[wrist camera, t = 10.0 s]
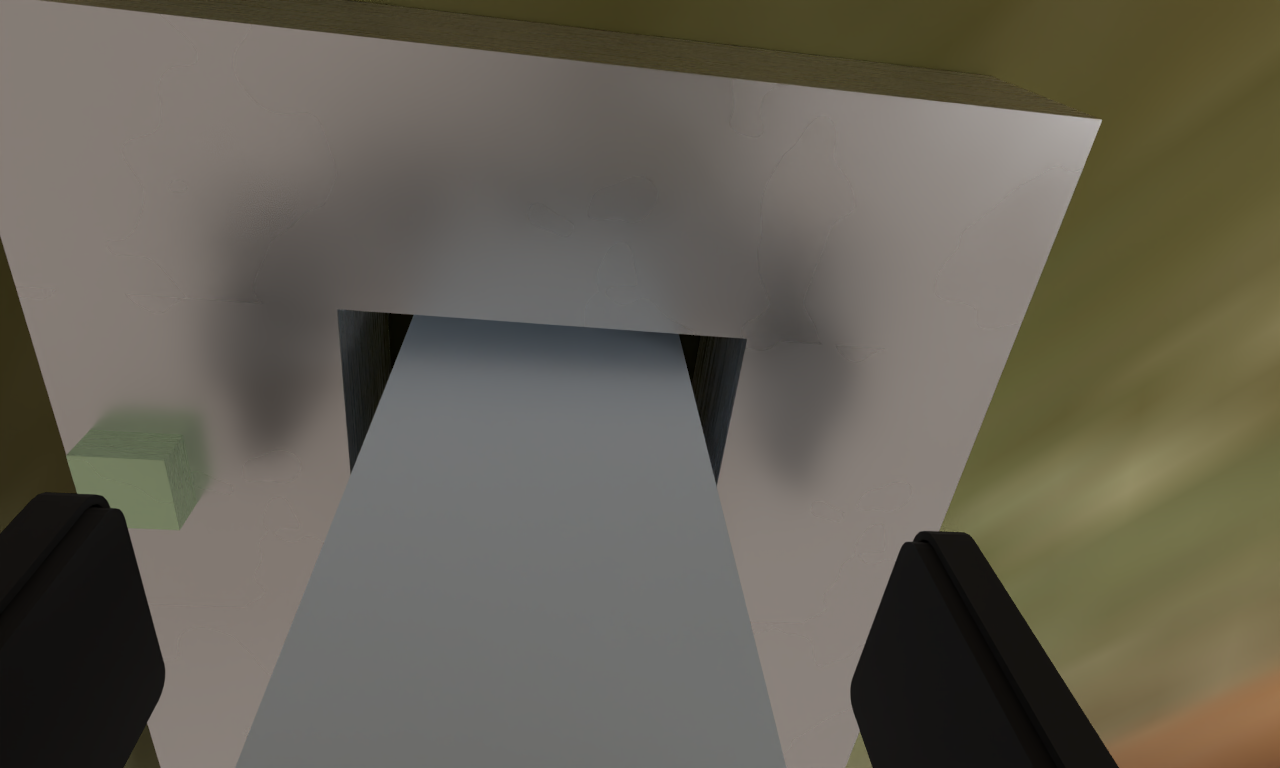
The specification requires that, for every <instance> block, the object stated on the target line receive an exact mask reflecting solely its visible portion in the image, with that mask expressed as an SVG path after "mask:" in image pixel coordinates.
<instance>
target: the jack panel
mask: <svg viewBox="0 0 1280 768" xmlns="http://www.w3.org/2000/svg"><path fill="white" fill-rule="evenodd" d="M1101 122H1102V120H1101V119H1099V118H1096V117H1094V116H1091V115H1089V114H1086V113H1084V112H1081V111H1079V110H1076V109H1074V108H1071V107H1069V106H1066V105H1063V104H1061V103H1058V102H1056V101H1053V100H1051V99H1048V98H1046V97H1043V96H1041V95H1038V94H1036V93H1033V92H1031V91H1028V90H1025V89H1023V88H1020V87H1018V86H1015V85H1013V84H1010V83H1008V82H1005V81H1003V80H1000V79H998V78H995V77H993V76H987V75H979V74H970V73H962V72H953V71H945V70H936V69H928V68H919V67H911V66H902V65H894V64H885V63H877V62H868V61H860V60H851V59H843V58H834V57H826V56H817V55H809V54H800V53H792V52H783V51H775V50H766V49H758V48H749V47H741V46H732V45H723V44H715V43H706V42H698V41H689V40H681V39H672V38H664V37H655V36H647V35H638V34H630V33H621V32H613V31H604V30H596V29H587V28H579V27H570V26H562V25H553V24H545V23H536V22H528V21H519V20H511V19H502V18H494V17H485V16H477V15H468V14H459V13H451V12H442V11H434V10H425V9H417V8H408V7H400V6H391V5H383V4H374V3H366V2H357V1H349V0H0V237H1V240H2V243H3V246H4V250H5V253H6V256H7V260H8V263H9V266H10V270H11V273H12V276H13V280H14V283H15V286H16V290H17V293H18V296H19V300H20V303H21V306H22V309H23V313H24V316H25V319H26V323H27V326H28V329H29V333H30V336H31V339H32V343H33V346H34V349H35V353H36V356H37V359H38V363H39V366H40V369H41V373H42V376H43V379H44V382H45V386H46V389H47V392H48V396H49V399H50V402H51V406H52V409H53V412H54V416H55V419H56V422H57V426H58V429H59V432H60V436H61V439H62V442H63V445H64V449H65V452H66V458H67V461H68V465H69V468H70V471H71V475H72V478H73V481H74V484H75V488H76V491H77V494H96V495H101V496H103V497H104V498H105V499H106V500H107V501H108V503H109V505H110V508H116V509H120V510H121V511H122V512H123V514H124V517H125V520H126V523H127V527H128V531H129V534H130V538H131V542H132V546H133V549H134V553H135V557H136V560H137V564H138V568H139V572H140V575H141V579H142V583H143V586H144V590H145V594H146V598H147V601H148V605H149V609H150V612H151V616H152V620H153V624H154V627H155V631H156V635H157V638H158V642H159V646H160V650H161V653H162V657H163V661H164V664H165V682H164V687H163V691H162V694H161V696H160V699H159V701H158V703H157V705H156V707H155V709H154V710H153V712H152V714H151V716H150V718H149V720H148V722H147V724H148V727H149V731H150V734H151V737H152V741H153V744H154V747H155V751H156V754H157V757H158V760H159V764H160V767H161V768H235V767H236V764H237V762H238V759H239V757H240V754H241V751H242V749H243V746H244V744H245V741H246V739H247V736H248V734H249V731H250V729H251V726H252V724H253V721H254V719H255V716H256V713H257V711H258V708H259V706H260V703H261V701H262V698H263V696H264V693H265V691H266V688H267V686H268V683H269V681H270V678H271V675H272V673H273V670H274V668H275V665H276V663H277V660H278V658H279V655H280V653H281V650H282V648H283V645H284V642H285V640H286V637H287V635H288V632H289V630H290V627H291V625H292V622H293V620H294V617H295V615H296V612H297V610H298V607H299V604H300V602H301V599H302V597H303V594H304V592H305V589H306V587H307V584H308V582H309V579H310V577H311V574H312V572H313V569H314V566H315V564H316V561H317V559H318V556H319V554H320V551H321V549H322V546H323V544H324V541H325V539H326V536H327V534H328V531H329V528H330V526H331V523H332V521H333V518H334V516H335V513H336V511H337V508H338V506H339V503H340V501H341V498H342V496H343V493H344V490H345V488H346V485H347V483H348V480H349V478H350V475H351V473H352V470H353V468H354V465H355V463H356V460H357V458H358V455H359V452H360V450H361V447H362V445H363V442H364V440H365V437H366V435H367V432H368V430H369V427H370V425H371V422H372V420H373V417H374V414H375V412H376V409H377V407H378V404H379V402H380V399H381V397H382V394H383V392H384V389H385V387H386V384H387V381H388V379H389V376H390V374H391V353H390V332H389V313H397V314H411V315H425V316H439V317H453V318H466V319H480V320H494V321H508V322H522V323H536V324H549V325H563V326H577V327H591V328H605V329H618V330H632V331H646V332H660V333H674V334H688V335H700V341H699V347H698V353H697V358H696V364H695V370H694V376H693V381H692V390H693V394H694V398H695V402H696V406H697V410H698V414H699V418H700V422H701V426H702V430H703V434H704V438H705V442H706V446H707V450H708V454H709V458H710V462H711V466H712V470H713V474H714V478H715V482H716V486H717V490H718V494H719V498H720V502H721V506H722V510H723V514H724V518H725V522H726V526H727V530H728V534H729V538H730V542H731V546H732V550H733V554H734V559H735V563H736V567H737V571H738V575H739V579H740V583H741V587H742V591H743V595H744V599H745V603H746V607H747V611H748V615H749V619H750V623H751V627H752V631H753V635H754V639H755V643H756V647H757V651H758V655H759V659H760V663H761V667H762V671H763V675H764V679H765V683H766V687H767V691H768V695H769V699H770V703H771V707H772V711H773V715H774V719H775V723H776V727H777V732H778V736H779V740H780V744H781V748H782V752H783V756H784V760H785V764H786V768H845V767H846V764H847V762H848V759H849V757H850V754H851V752H852V749H853V746H854V744H855V741H856V739H857V736H858V734H859V731H860V730H859V727H858V724H857V721H856V718H855V715H854V712H853V709H852V705H851V698H850V688H851V681H852V678H853V675H854V672H855V670H856V667H857V664H858V662H859V659H860V656H861V653H862V651H863V648H864V645H865V643H866V640H867V637H868V635H869V632H870V629H871V626H872V624H873V621H874V618H875V616H876V613H877V610H878V608H879V605H880V602H881V599H882V597H883V594H884V591H885V589H886V586H887V583H888V581H889V578H890V575H891V572H892V570H893V567H894V564H895V562H896V559H897V556H898V554H899V551H900V549H901V547H902V545H903V544H904V543H905V542H913V540H914V538H915V536H916V535H917V534H918V533H919V532H920V531H939V530H940V527H941V525H942V522H943V520H944V517H945V515H946V512H947V510H948V507H949V505H950V502H951V500H952V497H953V495H954V492H955V490H956V487H957V484H958V482H959V479H960V477H961V474H962V472H963V469H964V467H965V464H966V462H967V459H968V457H969V454H970V452H971V449H972V447H973V444H974V442H975V439H976V437H977V434H978V432H979V429H980V427H981V424H982V421H983V419H984V416H985V414H986V411H987V409H988V406H989V404H990V401H991V399H992V396H993V394H994V391H995V389H996V386H997V384H998V381H999V379H1000V376H1001V374H1002V371H1003V369H1004V366H1005V364H1006V361H1007V359H1008V356H1009V353H1010V351H1011V348H1012V346H1013V343H1014V341H1015V338H1016V336H1017V333H1018V331H1019V328H1020V326H1021V323H1022V321H1023V318H1024V316H1025V313H1026V311H1027V308H1028V306H1029V303H1030V301H1031V298H1032V296H1033V293H1034V290H1035V288H1036V285H1037V283H1038V280H1039V278H1040V275H1041V273H1042V270H1043V268H1044V265H1045V263H1046V260H1047V258H1048V255H1049V253H1050V250H1051V248H1052V245H1053V243H1054V240H1055V238H1056V235H1057V233H1058V230H1059V228H1060V225H1061V222H1062V220H1063V217H1064V215H1065V212H1066V210H1067V207H1068V205H1069V202H1070V200H1071V197H1072V195H1073V192H1074V190H1075V187H1076V185H1077V182H1078V180H1079V177H1080V175H1081V172H1082V170H1083V167H1084V165H1085V162H1086V160H1087V157H1088V154H1089V152H1090V149H1091V147H1092V144H1093V142H1094V139H1095V137H1096V134H1097V132H1098V129H1099V127H1100V124H1101Z"/></svg>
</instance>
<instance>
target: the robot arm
mask: <svg viewBox="0 0 1280 768" xmlns="http://www.w3.org/2000/svg"><path fill="white" fill-rule="evenodd" d="M164 682H165V664H164V661H163V657H162V653H161V650H160V646H159V642H158V638H157V635H156V631H155V627H154V624H153V620H152V616H151V612H150V609H149V605H148V601H147V598H146V594H145V590H144V586H143V583H142V579H141V575H140V572H139V568H138V564H137V560H136V557H135V553H134V549H133V546H132V542H131V538H130V534H129V531H128V527H127V523H126V520H125V517H124V514H123V512H122V511H121V510H120V509H116V508H110V505H109V503H108V501H107V500H106V499H105V498H104V497H103V496H101V495H96V494H73V493H51V492H45V493H42V494H39V495H37V496H36V497H35V498H33V499H32V500H31V501H30V502H29V503H28V504H27V505H26V506H25V507H24V508H23V510H22V511H21V512H20V513H19V514H18V515H17V516H16V517H15V518H14V519H13V520H12V521H11V523H10V524H9V525H8V526H7V527H6V528H5V529H4V530H3V531H2V532H1V533H0V768H123V767H124V766H125V764H126V762H127V760H128V758H129V756H130V754H131V752H132V750H133V748H134V747H135V745H136V743H137V741H138V739H139V737H140V735H141V733H142V731H143V729H144V728H145V726H146V724H147V722H148V720H149V718H150V716H151V714H152V712H153V710H154V709H155V707H156V705H157V703H158V701H159V699H160V696H161V694H162V691H163V687H164ZM850 698H851V705H852V709H853V712H854V715H855V718H856V721H857V724H858V727H859V730H860V732H861V735H862V738H863V741H864V744H865V747H866V750H867V752H868V755H869V758H870V761H871V764H872V767H873V768H1119V767H1118V766H1117V764H1116V762H1115V761H1114V759H1113V758H1112V756H1111V755H1110V753H1109V751H1108V750H1107V748H1106V747H1105V745H1104V744H1103V742H1102V740H1101V739H1100V737H1099V736H1098V734H1097V733H1096V731H1095V729H1094V728H1093V726H1092V725H1091V723H1090V722H1089V720H1088V718H1087V717H1086V715H1085V714H1084V712H1083V711H1082V709H1081V707H1080V706H1079V704H1078V703H1077V701H1076V700H1075V698H1074V696H1073V695H1072V693H1071V692H1070V690H1069V689H1068V687H1067V685H1066V684H1065V682H1064V681H1063V679H1062V678H1061V676H1060V674H1059V673H1058V671H1057V670H1056V668H1055V667H1054V665H1053V663H1052V662H1051V660H1050V659H1049V657H1048V656H1047V654H1046V652H1045V651H1044V649H1043V648H1042V646H1041V645H1040V643H1039V641H1038V640H1037V638H1036V637H1035V635H1034V634H1033V632H1032V630H1031V629H1030V627H1029V626H1028V624H1027V623H1026V621H1025V619H1024V618H1023V616H1022V615H1021V613H1020V612H1019V610H1018V608H1017V607H1016V605H1015V604H1014V602H1013V601H1012V599H1011V597H1010V596H1009V594H1008V593H1007V591H1006V590H1005V588H1004V586H1003V585H1002V583H1001V582H1000V580H999V579H998V577H997V575H996V574H995V572H994V571H993V569H992V568H991V566H990V564H989V563H988V561H987V560H986V558H985V557H984V555H983V553H982V552H981V550H980V549H979V547H978V545H977V544H976V542H975V541H974V540H973V539H972V537H971V536H970V535H968V534H966V533H963V532H940V531H920V532H919V533H918V534H917V535H916V536H915V538H914V540H913V542H905V543H904V544H903V545H902V547H901V549H900V551H899V554H898V556H897V559H896V562H895V564H894V567H893V570H892V572H891V575H890V578H889V581H888V583H887V586H886V589H885V591H884V594H883V597H882V599H881V602H880V605H879V608H878V610H877V613H876V616H875V618H874V621H873V624H872V626H871V629H870V632H869V635H868V637H867V640H866V643H865V645H864V648H863V651H862V653H861V656H860V659H859V662H858V664H857V667H856V670H855V672H854V675H853V678H852V681H851V688H850Z"/></svg>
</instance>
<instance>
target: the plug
mask: <svg viewBox="0 0 1280 768" xmlns="http://www.w3.org/2000/svg"><path fill="white" fill-rule="evenodd" d="M235 768H786V764H785V760H784V756H783V752H782V748H781V744H780V740H779V736H778V732H777V727H776V723H775V719H774V715H773V711H772V707H771V703H770V699H769V695H768V691H767V687H766V683H765V679H764V675H763V671H762V667H761V663H760V659H759V655H758V651H757V647H756V643H755V639H754V635H753V631H752V627H751V623H750V619H749V615H748V611H747V607H746V603H745V599H744V595H743V591H742V587H741V583H740V579H739V575H738V571H737V567H736V563H735V559H734V554H733V550H732V546H731V542H730V538H729V534H728V530H727V526H726V522H725V518H724V514H723V510H722V506H721V502H720V498H719V494H718V490H717V486H716V482H715V478H714V474H713V470H712V466H711V462H710V458H709V454H708V450H707V446H706V442H705V438H704V434H703V430H702V426H701V422H700V418H699V414H698V410H697V406H696V402H695V398H694V394H693V390H692V386H691V381H690V377H689V373H688V369H687V365H686V361H685V357H684V353H683V349H682V345H681V341H680V337H679V334H674V333H660V332H646V331H632V330H618V329H605V328H591V327H577V326H563V325H549V324H536V323H522V322H508V321H494V320H480V319H466V318H453V317H439V316H425V315H414V316H413V318H412V321H411V323H410V326H409V328H408V331H407V333H406V336H405V338H404V341H403V343H402V346H401V349H400V351H399V354H398V356H397V359H396V361H395V364H394V366H393V369H392V371H391V374H390V376H389V379H388V381H387V384H386V387H385V389H384V392H383V394H382V397H381V399H380V402H379V404H378V407H377V409H376V412H375V414H374V417H373V420H372V422H371V425H370V427H369V430H368V432H367V435H366V437H365V440H364V442H363V445H362V447H361V450H360V452H359V455H358V458H357V460H356V463H355V465H354V468H353V470H352V473H351V475H350V478H349V480H348V483H347V485H346V488H345V490H344V493H343V496H342V498H341V501H340V503H339V506H338V508H337V511H336V513H335V516H334V518H333V521H332V523H331V526H330V528H329V531H328V534H327V536H326V539H325V541H324V544H323V546H322V549H321V551H320V554H319V556H318V559H317V561H316V564H315V566H314V569H313V572H312V574H311V577H310V579H309V582H308V584H307V587H306V589H305V592H304V594H303V597H302V599H301V602H300V604H299V607H298V610H297V612H296V615H295V617H294V620H293V622H292V625H291V627H290V630H289V632H288V635H287V637H286V640H285V642H284V645H283V648H282V650H281V653H280V655H279V658H278V660H277V663H276V665H275V668H274V670H273V673H272V675H271V678H270V681H269V683H268V686H267V688H266V691H265V693H264V696H263V698H262V701H261V703H260V706H259V708H258V711H257V713H256V716H255V719H254V721H253V724H252V726H251V729H250V731H249V734H248V736H247V739H246V741H245V744H244V746H243V749H242V751H241V754H240V757H239V759H238V762H237V764H236V767H235Z"/></svg>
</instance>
